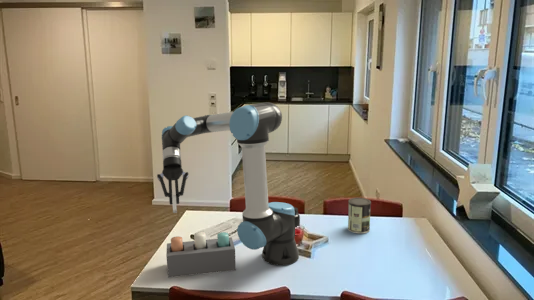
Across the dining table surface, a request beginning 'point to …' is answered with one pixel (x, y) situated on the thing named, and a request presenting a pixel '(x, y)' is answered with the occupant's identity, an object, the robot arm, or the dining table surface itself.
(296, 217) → the supplement bottle
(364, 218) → the coffee can
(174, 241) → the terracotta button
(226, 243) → the teal button
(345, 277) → the dining table surface
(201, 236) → the cream button
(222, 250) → the button console
